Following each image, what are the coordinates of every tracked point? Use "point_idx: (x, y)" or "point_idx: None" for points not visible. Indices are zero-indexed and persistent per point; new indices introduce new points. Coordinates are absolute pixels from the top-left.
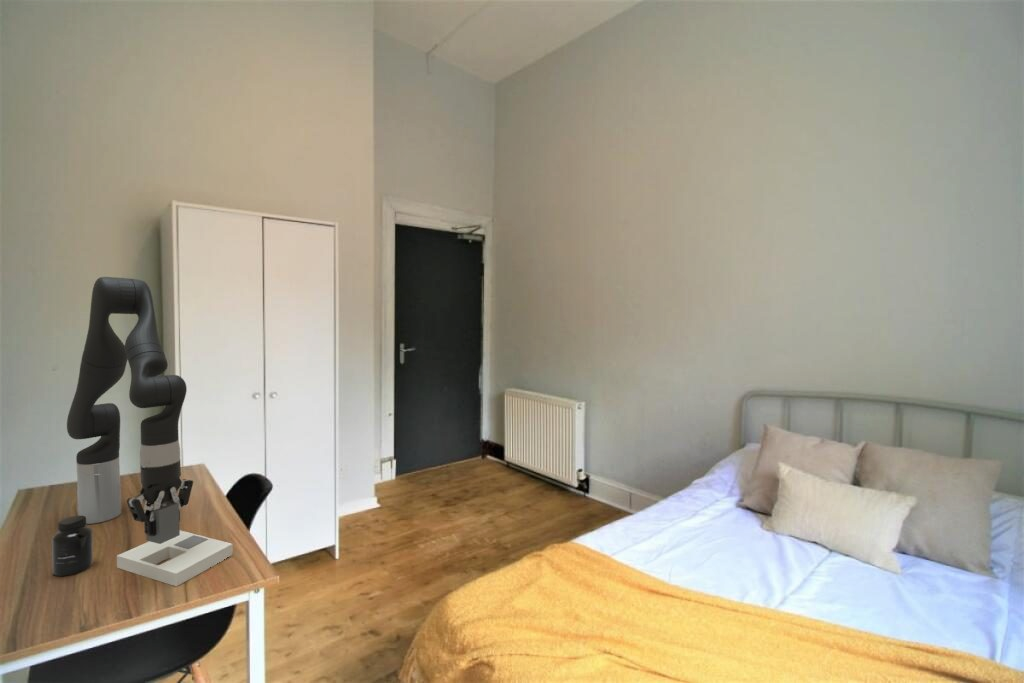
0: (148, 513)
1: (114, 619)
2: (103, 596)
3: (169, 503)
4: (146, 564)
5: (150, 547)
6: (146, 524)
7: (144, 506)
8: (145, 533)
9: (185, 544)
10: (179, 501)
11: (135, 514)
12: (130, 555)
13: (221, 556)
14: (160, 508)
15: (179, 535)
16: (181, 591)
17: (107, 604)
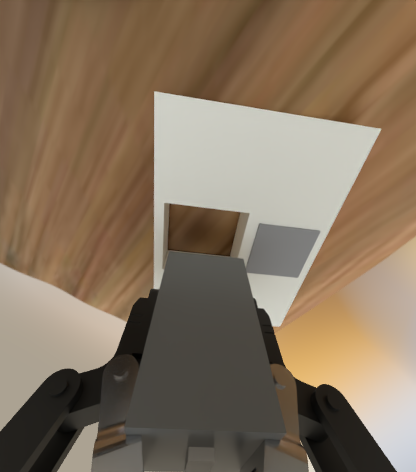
0: (128, 400)
1: (53, 282)
2: (70, 203)
3: (233, 459)
4: (154, 241)
5: (234, 164)
6: (126, 343)
7: (92, 466)
8: (138, 299)
9: (263, 252)
10: (308, 428)
11: (22, 436)
12: (172, 148)
13: None
14: (156, 465)
15: (324, 185)
16: None
17: (63, 237)
